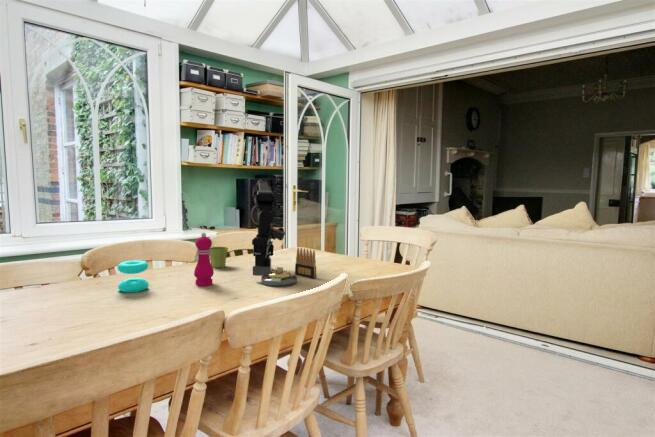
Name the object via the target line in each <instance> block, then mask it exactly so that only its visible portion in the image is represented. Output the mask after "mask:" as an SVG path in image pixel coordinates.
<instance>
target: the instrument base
mask: <svg viewBox="0 0 655 437" xmlns="http://www.w3.org/2000/svg"><path fill="white" fill-rule="evenodd" d="M260 277H261V281H260V282H261V284H262V285H264V286H265V287H271V288H272V287H273V288H285V287H286V288H287V287H292V286H295V285H296V284H297V282H298V280H297V279H298V277H297V275H295V274H291V277H290V278H288V279H281V278H272V279H270V278H268V276H260Z"/></svg>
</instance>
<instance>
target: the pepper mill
mask: <svg viewBox="0 0 655 437" xmlns="http://www.w3.org/2000/svg"><path fill="white" fill-rule="evenodd" d="M195 247H196V251H197V252H196V253H197V255H198V256H197V258H198V259H197V262H196V266H195V267H194V271H193V272H194V273H193V275H194V277H195V278H196V279H195V285H196V286H198V287H208V286H212V284H213V276H214V273H215V272H214V268H213V267H212V265H211V260H210V254H209V253H211V252H210V247H213V243H212V239H211V238H210V237H207V234H206V233H205V232H202V233H201V234H200V236H199V237H198V238H197V239H196V240H195Z"/></svg>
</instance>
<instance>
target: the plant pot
mask: <svg viewBox="0 0 655 437" xmlns="http://www.w3.org/2000/svg"><path fill="white" fill-rule="evenodd" d="M228 250H229V247H228V246H211V247H210V252H211V253H209V259H210V263H211V265H212V267H213V269H215V268H216V269H218V268H225V266H226V262H227V261H226V260H227V255H228V254H227V253H228Z"/></svg>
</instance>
